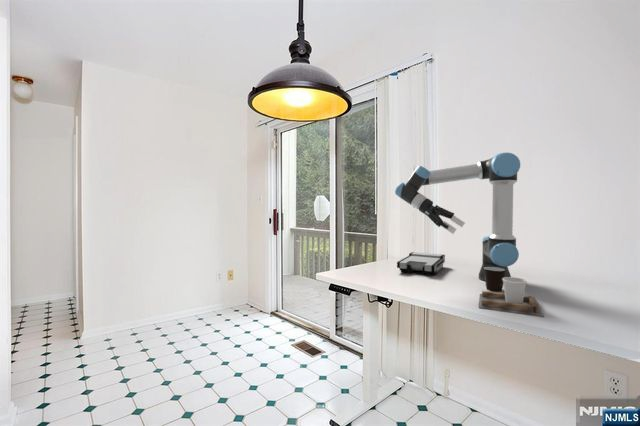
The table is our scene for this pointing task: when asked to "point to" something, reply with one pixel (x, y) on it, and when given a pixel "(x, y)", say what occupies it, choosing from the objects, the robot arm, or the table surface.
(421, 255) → the game console
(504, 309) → the tray with wooden rails
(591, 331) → the table surface
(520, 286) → the dixie cup
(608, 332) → the table surface
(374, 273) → the table surface
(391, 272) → the table surface
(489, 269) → the coffee mug
